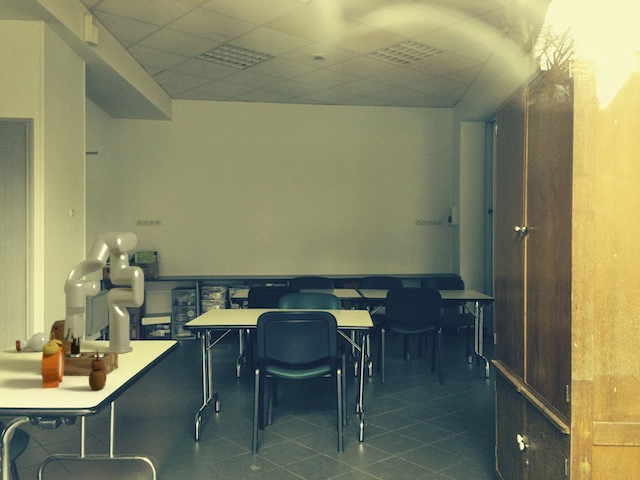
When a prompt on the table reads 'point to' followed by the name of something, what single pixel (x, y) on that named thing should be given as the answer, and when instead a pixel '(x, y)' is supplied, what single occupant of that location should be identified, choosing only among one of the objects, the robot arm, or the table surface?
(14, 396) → the table surface
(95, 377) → the wooden figurine
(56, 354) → the alarm clock
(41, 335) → the potion bottle
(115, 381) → the table surface
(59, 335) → the block
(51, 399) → the table surface
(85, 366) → the socket block
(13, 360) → the table surface
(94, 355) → the peg
